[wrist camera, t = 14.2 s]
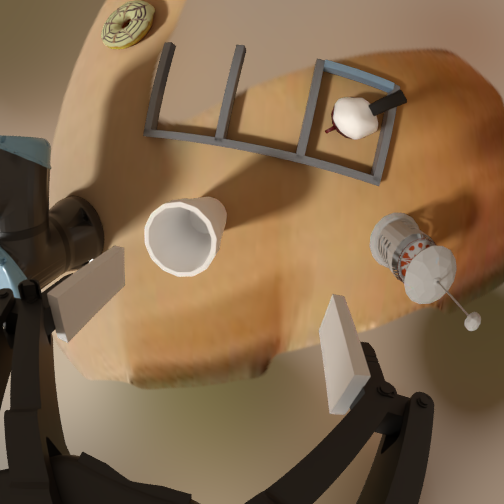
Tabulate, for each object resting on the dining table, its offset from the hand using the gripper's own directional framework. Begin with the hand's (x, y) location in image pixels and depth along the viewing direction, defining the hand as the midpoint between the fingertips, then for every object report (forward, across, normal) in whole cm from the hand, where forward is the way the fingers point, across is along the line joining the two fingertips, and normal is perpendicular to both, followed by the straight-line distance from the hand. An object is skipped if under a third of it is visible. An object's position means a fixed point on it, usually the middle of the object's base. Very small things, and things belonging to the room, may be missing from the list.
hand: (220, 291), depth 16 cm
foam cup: (+28, -8, -4) cm, 30 cm away
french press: (+28, +24, -1) cm, 37 cm away
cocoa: (+28, +11, +16) cm, 34 cm away
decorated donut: (+29, -29, +30) cm, 51 cm away
